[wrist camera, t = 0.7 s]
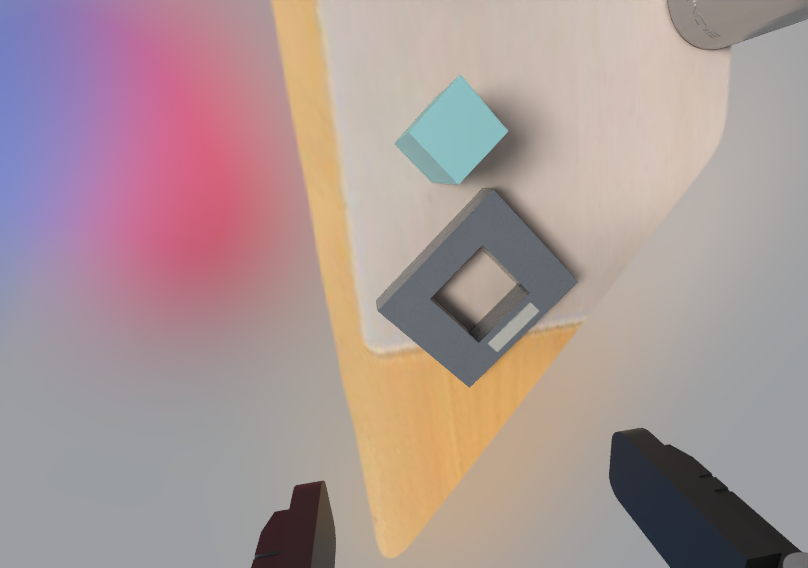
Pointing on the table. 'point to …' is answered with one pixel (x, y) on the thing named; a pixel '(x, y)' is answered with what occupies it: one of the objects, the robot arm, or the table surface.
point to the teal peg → (451, 134)
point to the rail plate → (470, 230)
